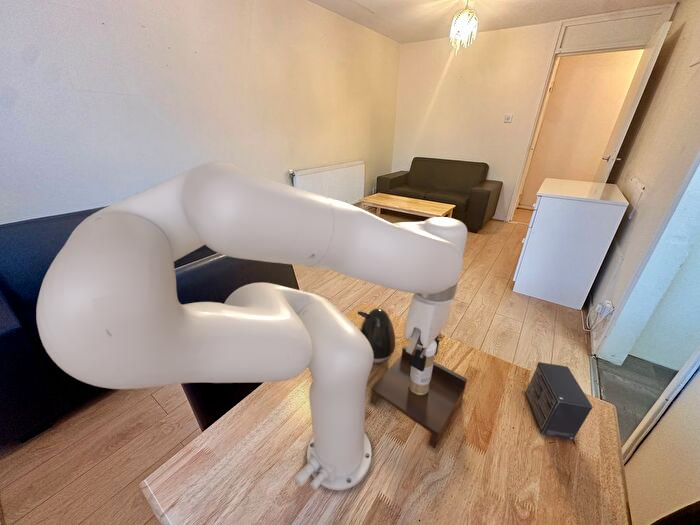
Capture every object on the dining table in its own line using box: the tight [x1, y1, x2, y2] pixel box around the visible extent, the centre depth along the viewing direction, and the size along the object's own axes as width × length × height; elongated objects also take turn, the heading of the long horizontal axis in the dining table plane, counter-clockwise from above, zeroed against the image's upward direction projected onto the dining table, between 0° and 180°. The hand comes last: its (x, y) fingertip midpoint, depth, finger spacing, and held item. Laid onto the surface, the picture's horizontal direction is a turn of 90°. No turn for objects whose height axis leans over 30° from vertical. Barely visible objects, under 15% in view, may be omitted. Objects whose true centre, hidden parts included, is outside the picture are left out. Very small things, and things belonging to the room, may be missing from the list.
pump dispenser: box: [357, 308, 396, 364], centre depth 76 cm, size 10×10×15 cm
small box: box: [524, 361, 594, 441], centre depth 61 cm, size 11×6×10 cm, turn 168°
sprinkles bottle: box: [409, 340, 437, 395], centre depth 61 cm, size 5×5×14 cm
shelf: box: [370, 345, 468, 450], centre depth 64 cm, size 14×16×8 cm
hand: (423, 358), depth 60 cm, fingers open, 5 cm apart
